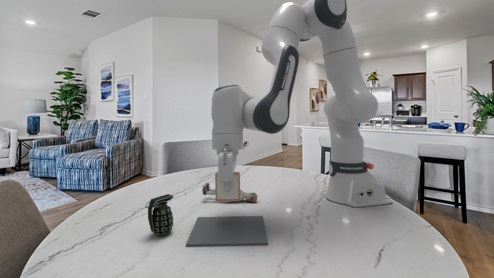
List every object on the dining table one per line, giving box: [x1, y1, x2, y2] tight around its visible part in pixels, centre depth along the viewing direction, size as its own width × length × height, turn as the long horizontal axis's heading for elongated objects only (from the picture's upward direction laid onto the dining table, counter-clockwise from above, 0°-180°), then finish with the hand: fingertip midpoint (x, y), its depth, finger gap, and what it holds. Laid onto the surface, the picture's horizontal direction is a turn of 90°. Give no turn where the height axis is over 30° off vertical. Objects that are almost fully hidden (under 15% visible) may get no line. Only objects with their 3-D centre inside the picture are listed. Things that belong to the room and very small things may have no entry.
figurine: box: [201, 182, 258, 204], centre depth 92 cm, size 6×6×20 cm
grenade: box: [145, 193, 174, 237], centre depth 67 cm, size 7×6×10 cm
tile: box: [214, 171, 241, 202], centre depth 73 cm, size 7×3×8 cm, turn 90°
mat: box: [185, 215, 269, 248], centre depth 69 cm, size 20×16×1 cm
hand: (228, 189), depth 73 cm, fingers closed on tile, 3 cm apart
